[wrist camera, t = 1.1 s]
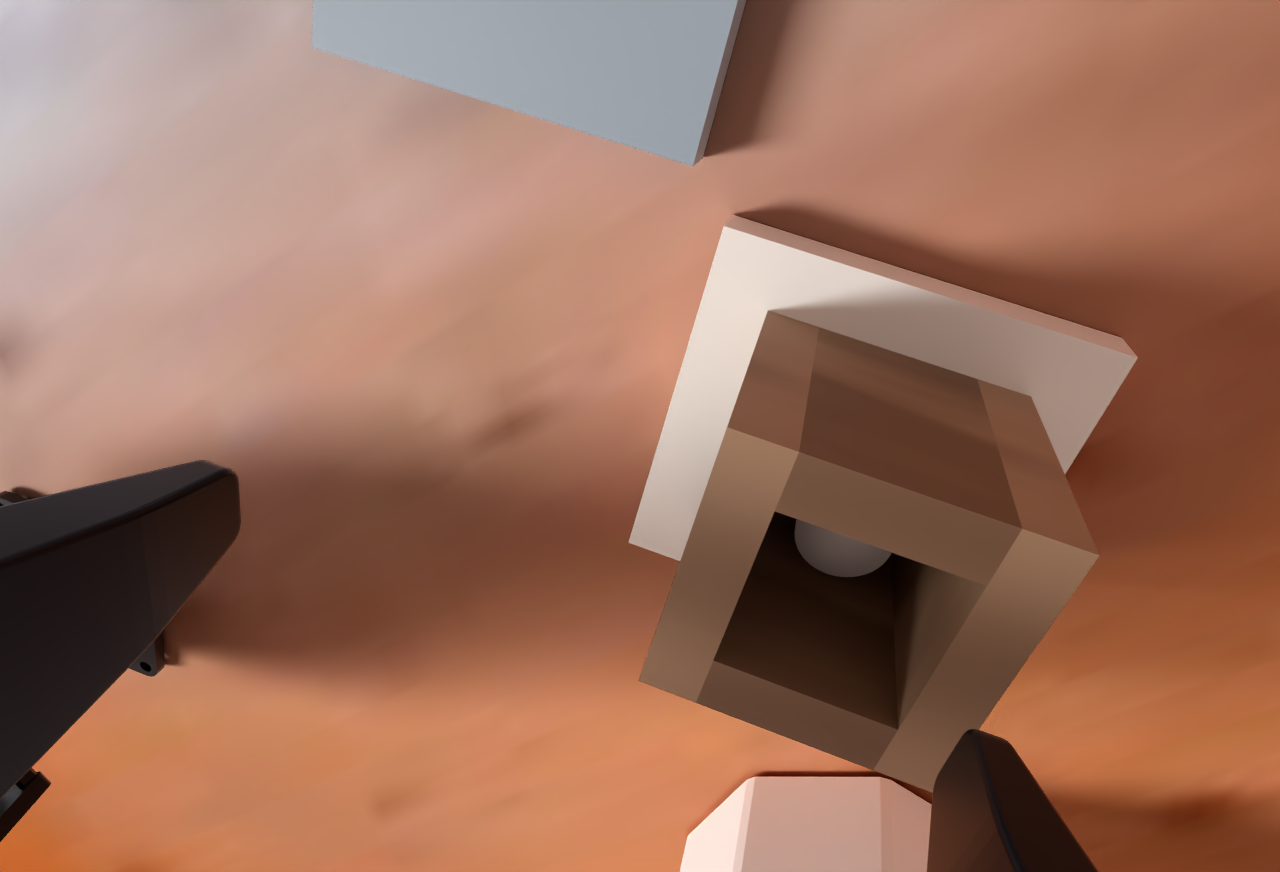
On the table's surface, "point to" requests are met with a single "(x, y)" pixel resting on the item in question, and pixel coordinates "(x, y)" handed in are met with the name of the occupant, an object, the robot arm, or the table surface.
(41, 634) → the robot arm
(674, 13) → the plate
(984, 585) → the walnut collar
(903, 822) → the cup
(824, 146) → the table surface
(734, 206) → the table surface
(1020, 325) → the rod stand
